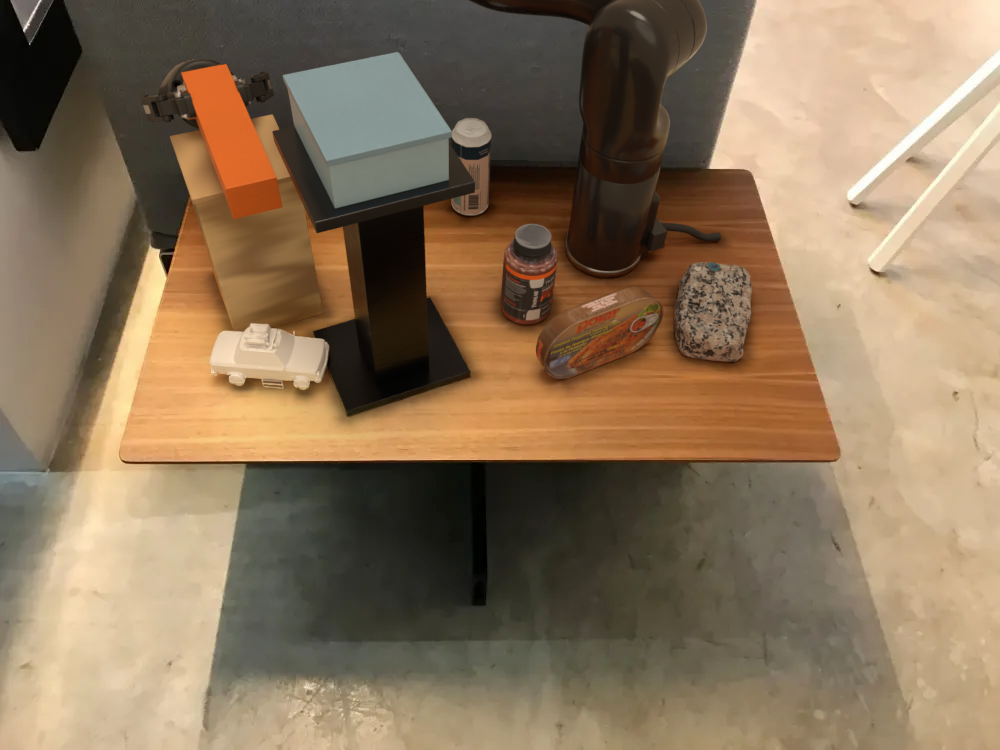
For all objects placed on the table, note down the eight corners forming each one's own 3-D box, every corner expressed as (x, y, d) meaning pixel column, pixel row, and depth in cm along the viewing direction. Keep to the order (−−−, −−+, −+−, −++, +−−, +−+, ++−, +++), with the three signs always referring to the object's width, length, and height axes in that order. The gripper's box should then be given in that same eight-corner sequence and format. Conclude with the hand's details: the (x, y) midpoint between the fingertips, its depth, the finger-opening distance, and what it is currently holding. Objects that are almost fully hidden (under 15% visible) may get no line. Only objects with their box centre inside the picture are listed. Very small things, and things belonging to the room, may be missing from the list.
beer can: (495, 203, 111) (499, 125, 102) (475, 223, 109) (477, 145, 99) (464, 189, 113) (466, 110, 103) (444, 208, 110) (443, 130, 101)
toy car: (323, 397, 91) (315, 356, 85) (211, 388, 91) (196, 347, 85) (333, 354, 94) (326, 312, 89) (225, 346, 94) (212, 303, 89)
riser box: (299, 255, 104) (272, 113, 88) (325, 314, 98) (301, 173, 82) (213, 278, 101) (169, 135, 85) (234, 340, 95) (191, 199, 79)
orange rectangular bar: (233, 93, 89) (226, 63, 86) (282, 207, 78) (276, 177, 76) (189, 102, 87) (180, 72, 85) (233, 219, 77) (225, 189, 74)
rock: (672, 280, 104) (680, 253, 100) (744, 289, 103) (754, 262, 100) (671, 359, 96) (679, 332, 93) (749, 369, 96) (760, 343, 92)
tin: (542, 389, 93) (549, 338, 86) (528, 368, 94) (534, 317, 88) (657, 344, 97) (672, 292, 91) (642, 325, 99) (655, 273, 92)
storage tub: (401, 100, 79) (398, 51, 75) (452, 181, 72) (452, 131, 68) (291, 125, 76) (282, 74, 72) (333, 211, 69) (326, 160, 65)
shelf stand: (427, 296, 100) (420, 98, 79) (470, 377, 93) (475, 181, 72) (311, 330, 96) (271, 130, 75) (347, 417, 89) (314, 222, 68)
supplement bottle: (546, 331, 98) (555, 259, 89) (495, 322, 98) (499, 249, 89) (554, 294, 101) (564, 222, 93) (505, 285, 102) (510, 213, 93)
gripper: (127, 71, 94) (127, 74, 79) (256, 47, 98) (279, 45, 83) (150, 140, 97) (154, 155, 82) (274, 114, 101) (299, 124, 86)
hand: (217, 100), depth 83 cm, fingers closed on orange rectangular bar, 4 cm apart
